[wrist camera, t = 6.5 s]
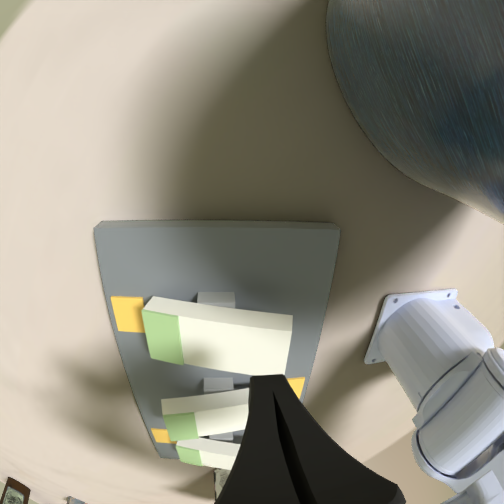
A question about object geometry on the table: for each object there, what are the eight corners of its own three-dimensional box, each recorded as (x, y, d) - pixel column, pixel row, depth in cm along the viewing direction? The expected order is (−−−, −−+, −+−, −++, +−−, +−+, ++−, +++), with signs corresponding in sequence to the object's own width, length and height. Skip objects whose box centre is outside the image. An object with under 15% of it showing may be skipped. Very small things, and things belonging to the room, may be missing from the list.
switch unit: (332, 222, 20) (348, 236, 17) (283, 446, 31) (287, 463, 29) (101, 221, 18) (85, 235, 15) (161, 448, 30) (159, 465, 27)
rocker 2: (270, 383, 22) (278, 399, 21) (266, 410, 24) (273, 424, 22) (160, 399, 20) (162, 416, 18) (168, 425, 21) (170, 441, 20)
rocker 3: (267, 447, 24) (266, 462, 22) (264, 462, 25) (263, 475, 24) (180, 433, 25) (175, 446, 23) (184, 449, 26) (180, 461, 25)
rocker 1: (292, 315, 17) (291, 333, 15) (285, 362, 19) (283, 381, 17) (153, 296, 18) (141, 310, 16) (160, 342, 20) (150, 358, 18)
